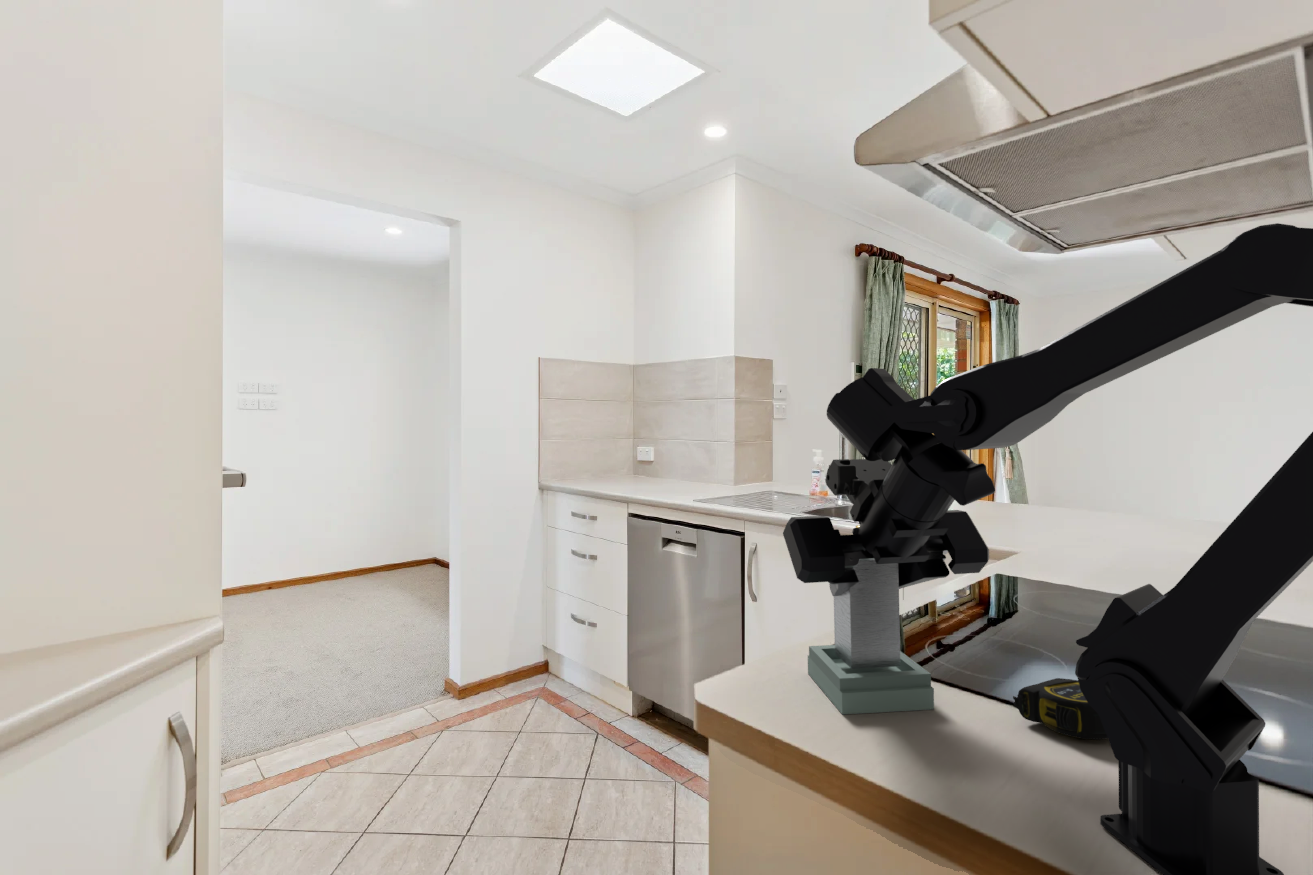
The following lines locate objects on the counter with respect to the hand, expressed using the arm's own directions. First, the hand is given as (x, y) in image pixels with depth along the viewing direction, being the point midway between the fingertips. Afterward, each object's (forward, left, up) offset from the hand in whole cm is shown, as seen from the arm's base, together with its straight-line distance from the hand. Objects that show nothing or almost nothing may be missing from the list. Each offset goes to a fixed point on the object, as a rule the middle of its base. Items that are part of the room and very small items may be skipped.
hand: (857, 590), depth 66 cm
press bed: (-2, 0, -10) cm, 10 cm away
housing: (-2, 0, -7) cm, 7 cm away
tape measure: (-11, -14, -10) cm, 21 cm away
